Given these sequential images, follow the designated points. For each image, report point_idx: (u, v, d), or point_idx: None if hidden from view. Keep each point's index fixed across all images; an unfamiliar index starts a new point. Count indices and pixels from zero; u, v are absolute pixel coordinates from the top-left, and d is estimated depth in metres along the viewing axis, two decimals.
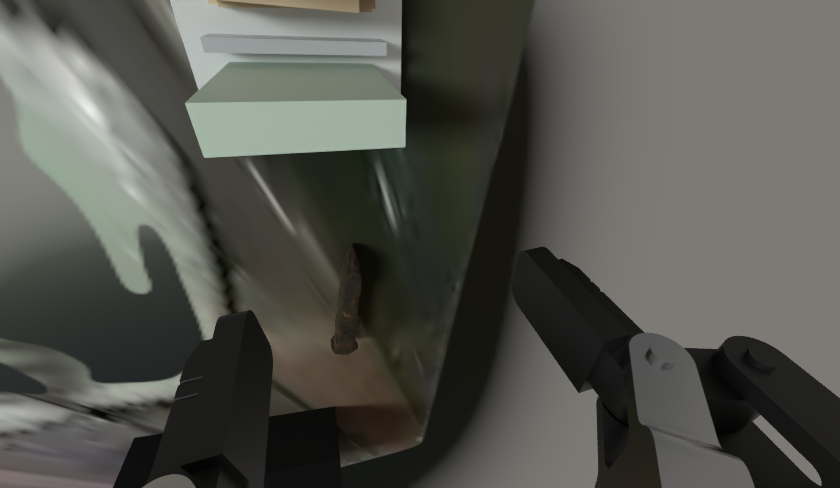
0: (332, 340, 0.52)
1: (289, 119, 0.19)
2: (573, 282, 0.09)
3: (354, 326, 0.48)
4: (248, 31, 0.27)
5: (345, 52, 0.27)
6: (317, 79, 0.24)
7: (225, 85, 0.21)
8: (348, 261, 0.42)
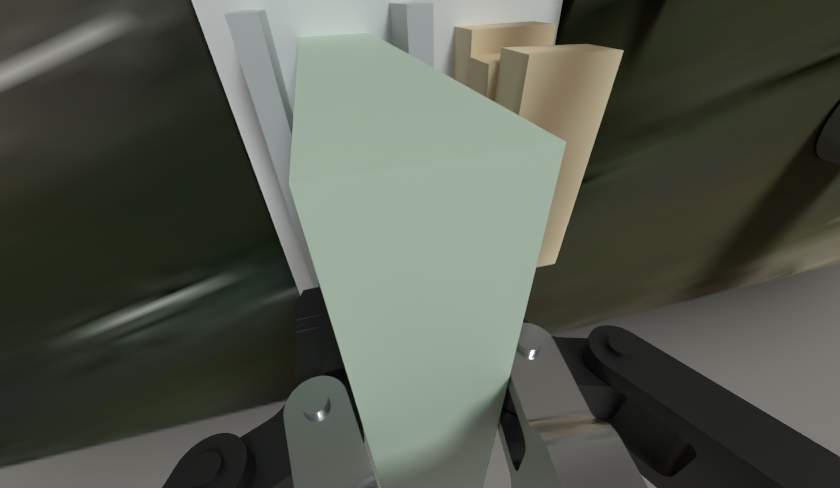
0: None
1: (464, 394, 0.07)
2: None
3: None
4: None
5: None
6: None
7: None
8: None
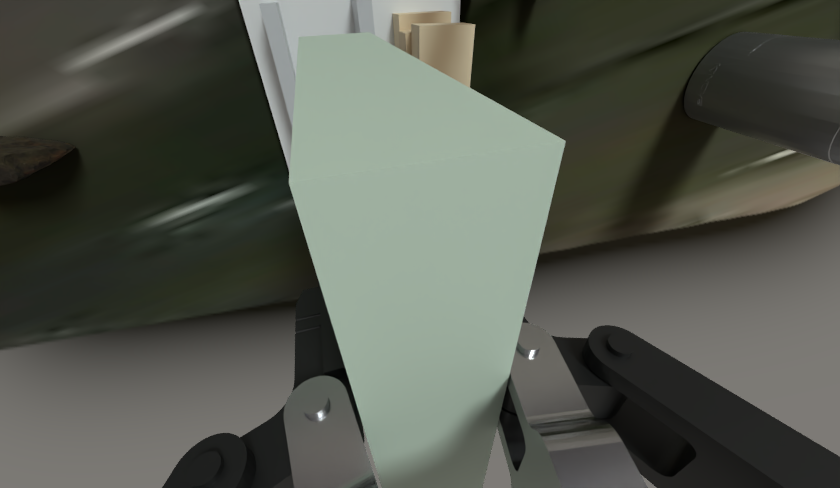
0: None
1: (463, 394, 0.07)
2: None
3: None
4: None
5: None
6: None
7: None
8: (33, 151, 0.22)
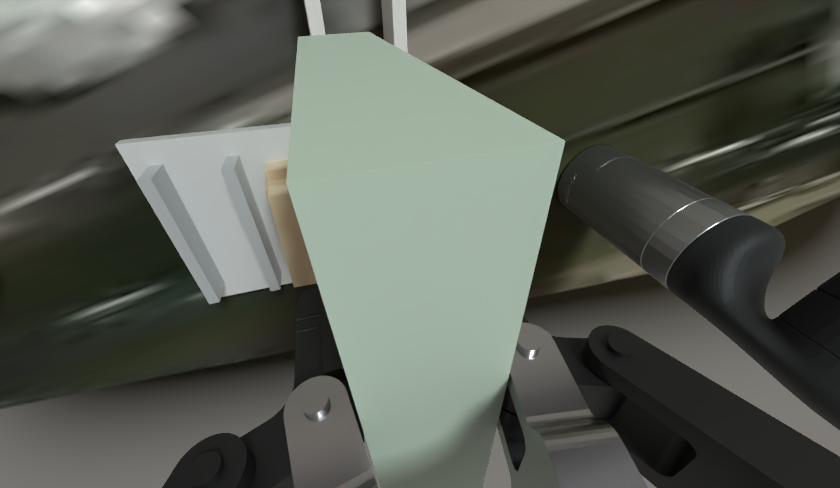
0: None
1: (463, 394, 0.07)
2: None
3: None
4: (252, 184, 0.31)
5: (262, 266, 0.33)
6: None
7: None
8: None
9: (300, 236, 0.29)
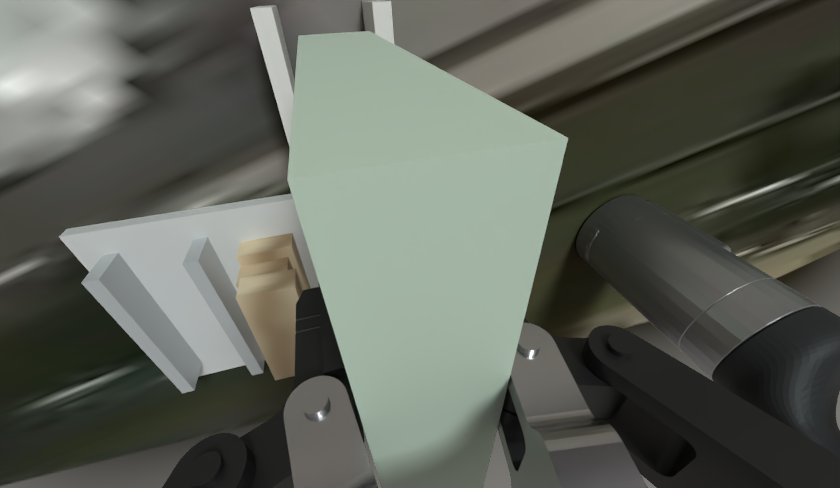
0: None
1: (464, 394, 0.07)
2: None
3: None
4: (226, 265, 0.27)
5: (240, 353, 0.29)
6: None
7: None
8: None
9: (279, 331, 0.25)
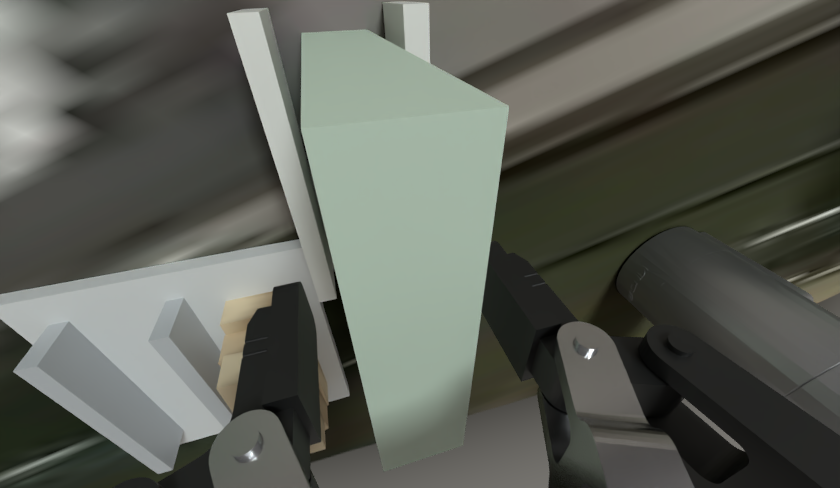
0: None
1: (441, 332, 0.08)
2: (517, 274, 0.09)
3: None
4: (208, 327, 0.22)
5: None
6: None
7: None
8: None
9: None
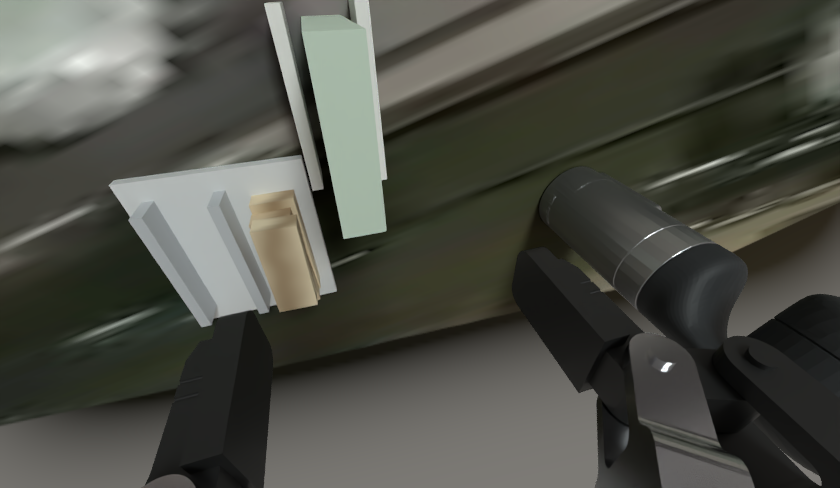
0: None
1: (359, 133, 0.19)
2: (573, 282, 0.09)
3: None
4: (239, 216, 0.33)
5: (250, 292, 0.35)
6: None
7: None
8: None
9: (283, 266, 0.31)
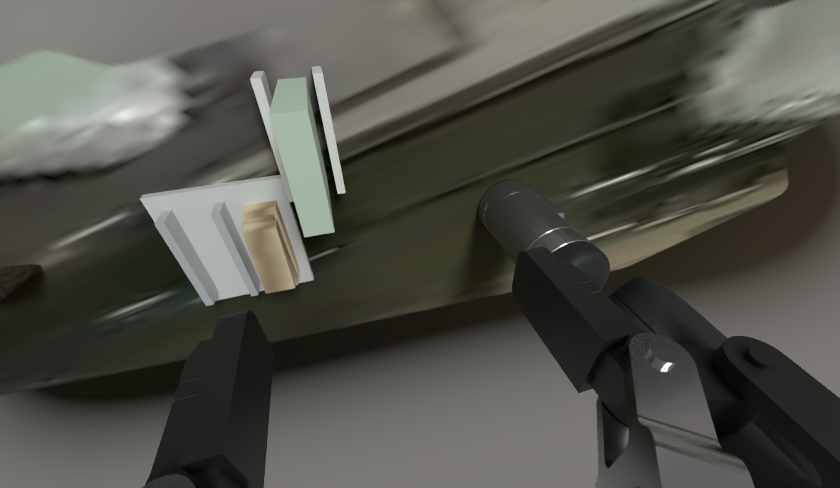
0: None
1: (309, 170, 0.29)
2: (573, 282, 0.09)
3: None
4: (235, 220, 0.44)
5: (244, 278, 0.46)
6: (321, 161, 0.36)
7: None
8: (11, 277, 0.38)
9: (267, 258, 0.41)
